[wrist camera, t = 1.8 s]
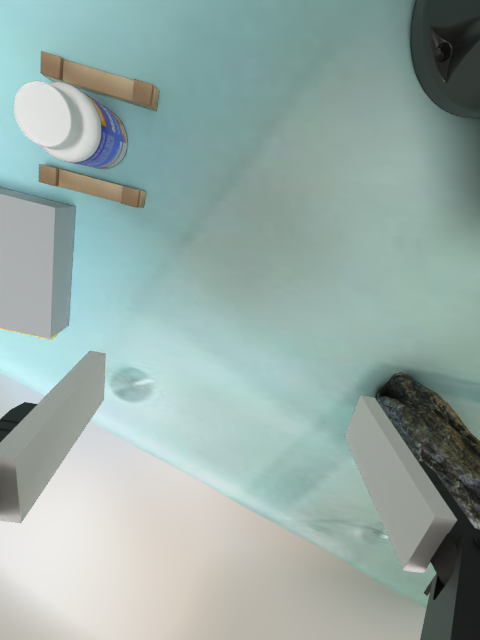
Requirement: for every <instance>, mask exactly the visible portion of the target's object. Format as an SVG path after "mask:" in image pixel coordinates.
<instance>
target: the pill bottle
mask: <svg viewBox="0 0 480 640" xmlns="http://www.w3.org/2000/svg"><path fill="white" fill-rule="evenodd" d="M14 114H15V118H16V121H17V123H18V125H19V127H20V129H21V130H22V132H23V133H24V134H25V135H26V136H27V137H28V138H29V139H30V140H31V141H33V142H34V143H36V144H38V145H40V146H41V147H42V148H43V149H44V150H45V151H46V152H47V153H49V154H50V155H52V156H53V157H55V158H57V159H59V160H62V161H66V162H71V163H75V164H80V165H85V166H90V167H95V168H101V169H105V168H110V167H113V166H115V165H117V164H118V163H119V162H120V161H121V160H122V159H123V157H124V155H125V153H126V150H127V136H126V132H125V129H124V127H123V125H122V123H121V121H120V120H119V119H118V117H117V116H116V115H115V114H114V113H112V112H111V111H110V110H109V109H107V108H106V107H104V106H103V105H101V104H100V103H98V102H96V101H95V100H93V99H92V98H90V97H89V96H87V95H86V94H84V93H83V92H81V91H80V90H78V89H76V88H75V87H73V86H71V85H68V84H66V83H61V82H51V83H45V82H41V81H31V82H28V83H26V84H24V85H23V86H22V87H21V88H20V89H19V90H18V92H17V93H16V96H15V99H14Z"/></svg>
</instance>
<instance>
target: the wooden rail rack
mask: <svg viewBox="0 0 480 640" xmlns="http://www.w3.org/2000/svg"><path fill="white" fill-rule="evenodd" d="M41 74H42V75H43V76H45V77H47V78H48V79H50V80H53V81H56V82H61V83H66V84H68V85H71V86H73V87H77V88H80V89H84V90H87V91H91V92H94V93H97V94H101V95H104V96H108V97H111V98H114V99H118V100H121V101H125V102H128V103H131V104H135V105H138V106H142V107H145V108H148V109H152V110H155V111H157V106H158V98H159V90H158V89H157V88H156V87H154V86H153V85H152V84H149V83H146V82H143V81H139V80H136V79H134V81H133V80H130V79H127V78H123V77H120V76H117V75H113V74H110V73H107V72H103V71H100V70H97V69H93V68H90V67H87V66H83V65H80V64H77V63H74V62H70V61H67V60H64V59H62V58H61V57H59V56H56V55H53V54H50V53H46V52H43V51H41ZM39 182H41V183H45V184H49V185H53V186H59V187H63V188H67V189H71V190H74V191H78V192H82V193H86V194H90V195H93V196H97V197H101V198H105V199H109V200H112V201H116V202H120V203H121V204H125V205H129V206H133V207H139V208H144V203H145V195H146V192H145V191H141V190H138V189H134V188H130V187H126V186H123V185H119V184H115V183H111V182H108V181H104V180H100V179H97V178H93V177H89V176H85V175H82V174H78V173H74V172H70V171H67V170H63V169H59V168H55V167H52V166H48V165H42V164H39Z"/></svg>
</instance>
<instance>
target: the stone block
mask: <svg viewBox="0 0 480 640" xmlns="http://www.w3.org/2000/svg"><path fill="white" fill-rule="evenodd" d="M377 396H378V397H377V402H378V404H379V405H380V407H381V408H382V409H383V411H384V412H385V414H386V415H387V417H388V418H389V420H390V421H391V423H392V424H393V426H394V427H395V429H396V430H397V432H398V433H399V435H400V436H401V438H402V439H403V440H404V442H405V443H406V445H407V446H408V448H409V449H410V451H411V452H412V454H413V455H414V457H415V458H416V460H417V461H423V462H425V463H426V464H427V465H428V466H429V467H430V468H431V469H432V470H433V471H434V472H435V473H436V474H437V476H438V477H439V478H440V480H441V481H442V483H443V485H445V487H446V488H447V490H448V491H449V494H451V495H452V497H453V498H454V499H455V501H456V502H457V504H458V505H459V506H460V508H461V509H462V511H463V512H464V513H465V515H466V516H467V518H468V519H469V520H470V522H471V523H472V525H473V526H474V527H475V528H477V529H480V441H479V440H478V439H477V438H476V437H475V436H473V435H472V434H471V433H470V432H469V430H468V429H467V427H466V426H465V425H464V423H463V422H462V421H461V419H460V418H459V417H458V415H457V414H456V413H455V412H454V410H453V409H452V408H451V407H450V406H449V404H448V403H446V402H445V401H444V400H443V399H441V397H440V396H439V395H438V394H436V393H435V392H433V391H431V390H429V389H427V388H426V387H424V386H422V385H420V384H418V383H416V382H414V381H413V380H411V379H409V378H408V377H406V376H405V375H404V374H403V373H402V372H401V373H398V374H396V375H394V376H393V377H392V379H391V380H390V381H389V383H388V384H387V385H386V386H385V387H384V388H383V390H381V391H380V392H379V393H378V394H377Z"/></svg>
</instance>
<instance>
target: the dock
mask: <svg viewBox="0 0 480 640" xmlns="http://www.w3.org/2000/svg"><path fill="white" fill-rule="evenodd" d="M75 211H76V207H75V206H71V205H67V204H63V203H59V202H55V201H52V200H48V199H44V198H40V197H36V196H32V195H28V194H24V193H21V192H17V191H13V190H9V189H5V188H1V187H0V329H3V330H8V331H12V332H17V333H22V334H26V335H31V336H36V337H40V338H45V339H49V340H52V339H53V338H54V337H56V336H57V334H58V333H59V332H60V331H62V330H63V329H64V328H66V327H67V326H68V325H69V314H70V296H71V279H72V262H73V245H74V228H75Z"/></svg>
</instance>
